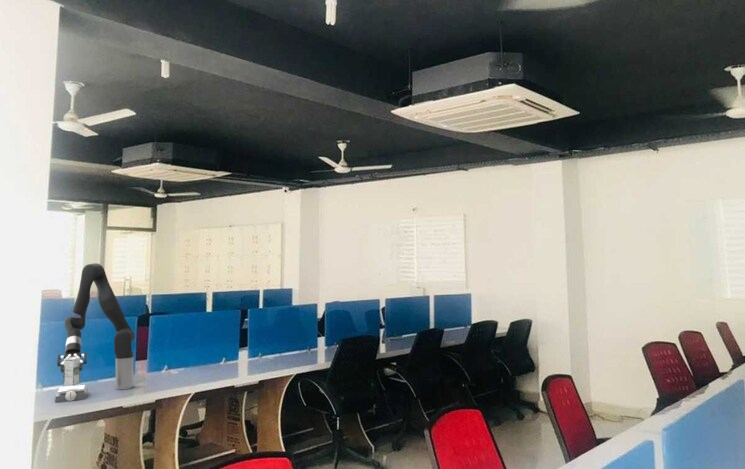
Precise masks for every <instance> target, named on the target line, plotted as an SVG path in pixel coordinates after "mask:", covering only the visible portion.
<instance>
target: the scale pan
mask: <svg viewBox="0 0 745 469" xmlns="http://www.w3.org/2000/svg"><path fill="white" fill-rule="evenodd" d="M84 388H86V384H81V385H80V384H76V385H74V386H60V387H59V389H58V391H57V392H58V393H66V392H69V391H74V392H75V391H84Z"/></svg>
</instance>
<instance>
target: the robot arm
mask: <svg viewBox="0 0 745 469" xmlns="http://www.w3.org/2000/svg"><path fill="white" fill-rule="evenodd" d="M93 283H94V284H95V287H96V290H97V298H98V299H97V300H98V304H99V307H100V309H101V310H102V313H103V314H104V315H105V316H106V318H107V319H108V321H110V322H111V323H112V325H113V327H114V329H115V332H116V333H115V335H114V338H113V348H114V349H113V351H114V355H115V390H127V389H129V390H130V389H131V388H134V386H135V384H134V383H135V378H134V377H135V376H134V375H135V374H134V373H135V372H134V371H135V370H134V352H133V350H132V344H133V342H134V340H135V332H134V331H133V329H132V328H131V326H130V324H129V323H128V321H127V319H126V318H125V315H124V314H125V313H124V312H123V310H122V308H121V306H120V303H119V301H118V298H117V297H116V295H115V293H114V291H113V288H112V287H111V284H110V282H109V279H108V277H107V274H106V270H105V268H104V267H103V265H101V264H100V263H88V264H86V265H84V267H82V271H81V277H80V282H79V288H78V291H77V295H76V299H75V302H74V305H73V307H72V312H73V313H74V314H76V315H79V317H78V316H70V315H69V316H67V317H66V318H65V319H64V328H65V331H66V341H65V350H64V351H65V352H64V354H63V355H61V354H58V355H57V361H56V364H57V366H56V367H60V372H61V374H62V373H63V368H64V359H65V358H69V357H80V372H82V370H83V369H84V368H83V367H84V365H87V364H88V353H87V352H84V353H81V352H82V351H81V350H82V331H81V330H83V329H85V327H86V315H87V311H88V307H89V304H90V300H91V288H92V285H93ZM81 357H82V358H83V359H84V360H82V358H81ZM62 360H63V361H62Z"/></svg>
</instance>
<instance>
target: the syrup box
mask: <svg viewBox="0 0 745 469" xmlns="http://www.w3.org/2000/svg"><path fill="white" fill-rule="evenodd" d="M80 359H81V358H80V357H69V358H65V359H64V358H63V361H64V368H63V374H62V377H63V378H62V387H68V386H77V385H80V383H81V382H80V380H81V378H80V377H81V374H80V373H81V371H80Z"/></svg>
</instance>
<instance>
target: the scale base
mask: <svg viewBox="0 0 745 469" xmlns="http://www.w3.org/2000/svg"><path fill="white" fill-rule="evenodd" d="M86 396H88V387H85V388H84V391H75V392H74V391H69V392H66V393H58V391H57V392H56V395H55V399H54V400H55V401H54V402H55V403H63V402H72V401H81V400H86V399H87V397H86Z"/></svg>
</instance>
